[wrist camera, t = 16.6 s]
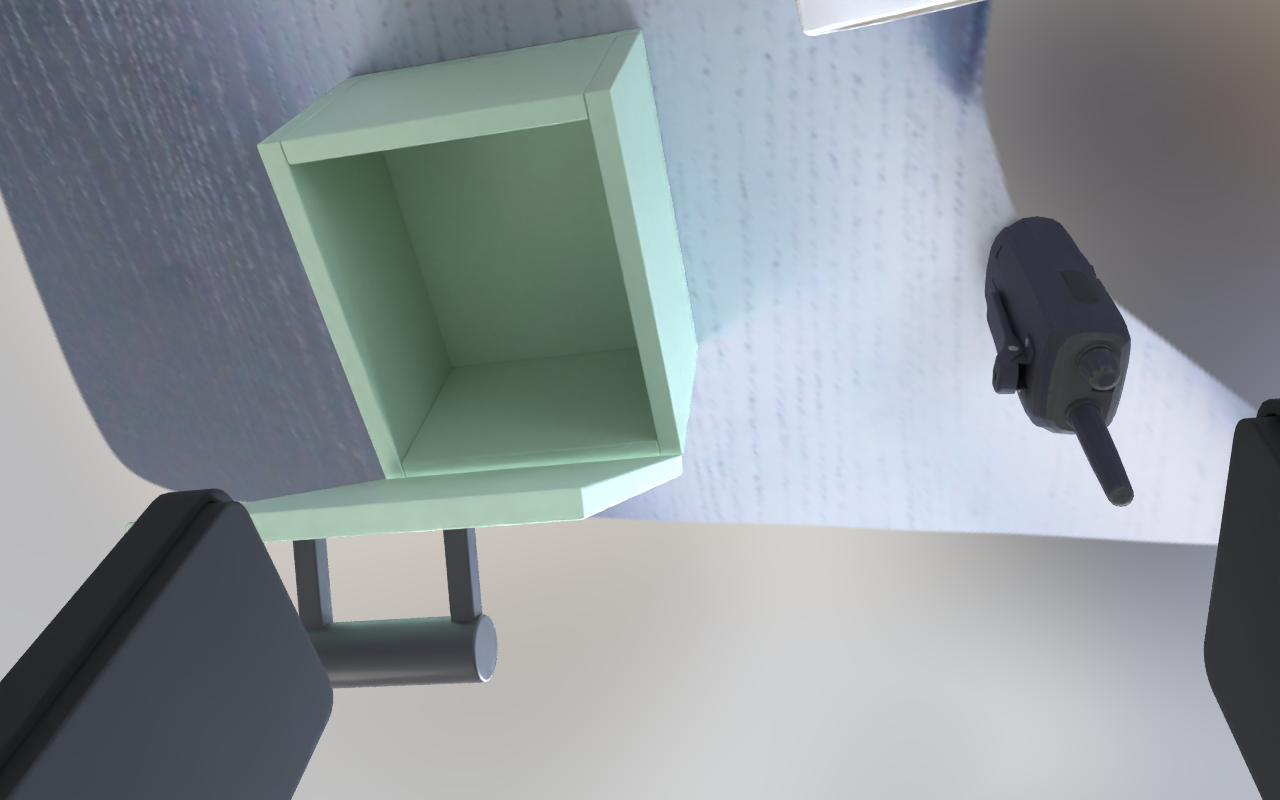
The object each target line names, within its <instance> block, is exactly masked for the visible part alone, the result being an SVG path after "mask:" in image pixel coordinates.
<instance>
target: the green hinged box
mask: <svg viewBox="0 0 1280 800" xmlns="http://www.w3.org/2000/svg"><path fill="white" fill-rule="evenodd" d="M257 147H258V150H259V153H260V155H261V158H262V160H263V163H264V165H265V168H266V171H267V173H268V176H269V178H270V181H271V183H272V186H273V189H274V191H275V194H276V196H277V199H278V201H279V204H280V207H281V209H282V212H283V214H284V217H285V219H286V222H287V225H288V227H289V230H290V232H291V235H292V237H293V240H294V243H295V245H296V248H297V250H298V253H299V255H300V258H301V261H302V263H303V266H304V268H305V271H306V273H307V276H308V279H309V281H310V284H311V286H312V289H313V291H314V294H315V297H316V299H317V302H318V304H319V307H320V309H321V312H322V315H323V317H324V320H325V322H326V325H327V328H328V330H329V333H330V335H331V338H332V340H333V343H334V346H335V348H336V351H337V353H338V356H339V358H340V361H341V364H342V366H343V369H344V371H345V374H346V376H347V379H348V382H349V384H350V387H351V389H352V392H353V394H354V397H355V400H356V402H357V405H358V407H359V410H360V412H361V415H362V418H363V420H364V423H365V425H366V428H367V430H368V433H369V436H370V438H371V441H372V443H373V446H374V448H375V451H376V454H377V456H378V459H379V461H380V464H381V466H382V469H383V472H384V474H385V477H386V479H393V478H405V477H417V476H429V475H441V474H452V473H464V472H476V471H488V470H500V469H512V468H524V467H536V466H548V465H560V464H572V463H584V462H596V461H608V460H620V459H632V458H644V457H656V456H668V455H681V457H683V454H684V447H685V440H686V433H687V426H688V419H689V412H690V405H691V397H692V390H693V383H694V376H695V369H696V362H697V354H698V343H697V337H696V332H695V326H694V320H693V315H692V309H691V303H690V298H689V292H688V286H687V281H686V275H685V270H684V264H683V258H682V253H681V247H680V241H679V236H678V230H677V224H676V219H675V213H674V207H673V202H672V196H671V190H670V185H669V179H668V173H667V168H666V162H665V157H664V151H663V145H662V140H661V134H660V128H659V123H658V117H657V111H656V106H655V100H654V94H653V89H652V83H651V77H650V72H649V66H648V60H647V55H646V49H645V44H644V38H643V32H642V29H641V28H637V29H631V30H625V31H620V32H614V33H608V34H602V35H596V36H590V37H584V38H578V39H572V40H566V41H561V42H555V43H549V44H543V45H537V46H531V47H525V48H519V49H513V50H507V51H502V52H496V53H490V54H484V55H478V56H472V57H466V58H460V59H454V60H448V61H443V62H437V63H431V64H425V65H419V66H413V67H407V68H401V69H395V70H389V71H384V72H378V73H372V74H366V75H360V76H354V77H348V78H347V79H346V80H344V81H343V82H342V83H340V84H339V85H337V86H336V87H334V88H333V89H332V90H330V91H329V92H328V93H326V94H325V95H324V96H322V97H321V98H320V99H318V100H317V101H316V102H314V103H313V104H312V105H310V106H309V107H307V108H306V109H305V110H303V111H302V112H301V113H299V114H298V115H297V116H295V117H294V118H293V119H291V120H290V121H289V122H287V123H286V124H285V125H283V126H282V127H280V128H279V129H278V130H276V131H275V132H274V133H272V134H271V135H270V136H268V137H267V138H266V139H264V140H263V141H262V142H260V143H259V144H257Z"/></svg>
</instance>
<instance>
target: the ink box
mask: <svg viewBox="0 0 1280 800" xmlns="http://www.w3.org/2000/svg"><path fill="white" fill-rule="evenodd" d="M980 1H984V0H796V5H797V10H798V14H799V18H800V22H801V27H802V30H803V32H804V33H805V34H806V35H809V36H817V35H821V34H826V33H832V32H837V31H844V30H850V29H855V28H860V27H865V26H871V25H876V24H880V23H885V22H889V21H894V20H899V19H904V18H909V17H913V16H918V15H922V14H927V13H931V12H936V11H940V10H945V9H950V8H954V7H958V6H963V5H967V4H971V3H976V2H980Z"/></svg>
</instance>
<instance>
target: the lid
mask: <svg viewBox="0 0 1280 800" xmlns="http://www.w3.org/2000/svg"><path fill="white" fill-rule="evenodd" d="M681 474H683V468H682V458H681V455H668V456H656V457H644V458H632V459H620V460H608V461H596V462H584V463H572V464H560V465H548V466H536V467H524V468H512V469H500V470H488V471H476V472H464V473H452V474H441V475H429V476H417V477H405V478H393V479H382V480H376V481H370V482H365V483H359V484H353V485H347V486H341V487H335V488H329V489H324V490H318V491H312V492H306V493H300V494H294V495H288V496H283V497H277V498H271V499H265V500H259V501H253V502H247V503H241V504H242V505H243V506H244V507H245V508H246V510H247V511H248V513H249V515H250V517H251V519H252V521H253V523H254V525H255V527H256V529H257V531H258V533H259V535H260V537H261V539H262V541H263V543H266V542H279V541H280V542H281V541H293V548H294V560H295V572H296V584H297V596H298V607H299V617H300V619H301V622H302V624H303V626H304V628H305V630H306V632H307V634H308V636H309V638H310V640H311V642H312V644H313V646H314V648H315V650H316V652H317V654H318V657H319V659H320V661H321V663H322V665H323V667H324V669H325V671H326V673H327V675H328V677H329V679H330V682H331V685H332V688H355V687H379V686H403V685H404V686H405V685H430V684H455V683H480V682H486V681H488V680H489V679H490V678H491V677H492V675H493V673H494V669H495V665H496V660H497V637H496V632H495V628H494V625H493V622H492V620H491V619H490V617H489V616H486V615H482V606H481V595H480V583H479V571H478V560H477V550H476V537H475V527H489V526H502V525H516V524H530V523H544V522H558V521H571V520H582V519H585V518H587V517H589V516H591V515H594V514H596V513H598V512H600V511H602V510H605V509H607V508H609V507H611V506H613V505H616V504H618V503H620V502H622V501H624V500H627V499H629V498H631V497H633V496H635V495H638V494H640V493H642V492H644V491H646V490H649V489H651V488H653V487H655V486H657V485H660V484H662V483H664V482H666V481H668V480H671V479H673V478H675V477H677V476H679V475H681ZM134 523H135V522H130V523H127V524H126V533H127V531H128V530H129V529H130V528H131V527H132V525H133V524H134ZM433 530H443V533H444V545H445V556H446V567H447V579H448V590H449V602H450V612H451V616H447V617H428V618H410V619H391V620H372V621H355V622H336V623H333V617H332V607H331V593H330V581H329V570H328V559H327V546H326V538H336V537H349V536H364V535H376V534H377V535H378V534H390V533H391V534H392V533H405V532H419V531H433Z"/></svg>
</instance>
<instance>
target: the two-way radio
mask: <svg viewBox="0 0 1280 800" xmlns="http://www.w3.org/2000/svg"><path fill="white" fill-rule="evenodd" d="M985 297H986V302H987V321H988V324H989V328H990V331H991V333H992V336H993V339H994V343H995V346H996V349H997V353H998V355H997V356H996V360H995V364H994V369H993V381H992V384H993V387H994V390H995V392H996V393H998V394H1014V393H1015V391H1016V390H1017V393H1018V396H1019V398H1020V401H1021V403H1022V405H1023V408H1024V410H1025V412H1026V414H1027V415H1028V417H1029V418H1030V420H1031V421H1032V423H1033V424H1035V425H1036V426H1039V427H1043V428H1045V429H1047V430H1049V431H1051V432H1053V433H1060V434H1076V435H1077V437H1078V440H1079V442H1080V444H1081V446H1082V448H1083V450H1084V452H1085V454H1086V457H1087V459H1088V461H1089V463H1090V465H1091V467H1092V469H1093V471H1094V473H1095V475H1096V477H1097V478H1098V480H1099V482H1100V484H1101V486H1102V488H1103V490H1104V492H1105V494H1106V496H1107V498H1108V500H1109V501H1110V502H1111V503H1112V504H1113V505H1116V506H1120V507H1122V506H1127V505H1128V504H1130V503H1131V501H1132V500H1133V497H1134V492H1133V489H1132V487H1131V484H1130V482H1129V479H1128V477H1127V474H1126V472H1125V469H1124V467H1123V464H1122V462H1121V459H1120V457H1119V454H1118V451H1117V449H1116V447H1115V445H1114V442H1113V440H1112V438H1111V436H1110V433H1109V431H1108V429H1107V427H1108V426H1109V425H1110V423H1111V422H1112V420H1113V418H1114V416H1115V414H1116V411H1117V407H1118V404H1119V401H1120V398H1121V394H1122V390H1123V386H1124V381H1125V377H1126V372H1127V368H1128V363H1129V356H1130V347H1131V338H1130V335H1129V332H1128V329H1127V326H1126V324H1125V321H1124V319H1123V317H1122V315H1121V314H1120V312H1119V310H1118V309H1117V307H1116V305H1115V304H1114V302H1113V301H1112V299H1111V297H1110V296H1109V294H1108V293H1107V291H1106V290H1105V287H1104V286H1103V284H1102V283H1101V281H1100V280H1099V279H1097V278H1096V274H1095V272H1094V268H1093V266H1092V265H1090V264H1089V262H1088V260H1087V259H1086V258H1085V257H1084V255H1083V254H1082V253H1081V252H1080V251H1079V249H1078V247H1077V246H1076V244H1075V242H1074V241H1073V240H1072V238H1071V237H1070V235H1069V234H1068V233H1067V231H1066V230H1065V229H1064V228H1063V226H1062V225H1061V224H1060V223H1058V222H1056V221H1055V220H1053V219H1049V218H1044V217H1038V216H1037V217H1030V218H1023V219H1021V220H1019V221H1018V222H1016V223H1014V224H1013V225H1011V226H1009V227H1006V228H1004V229H1003V230H1002V231H1001V232H1000V234H999V235H998V236H997V237H996V238H995V241H994V243H993V245H992V247H991V251H990V255H989V260H988V265H987V271H986V281H985Z"/></svg>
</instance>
